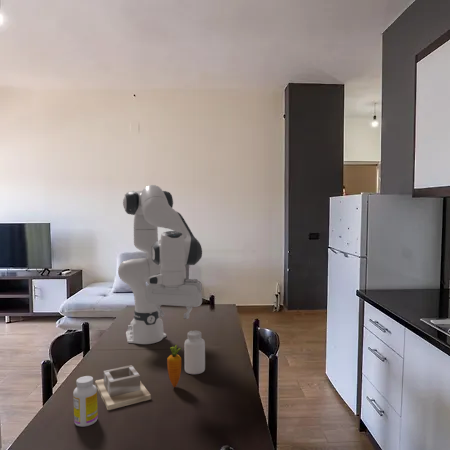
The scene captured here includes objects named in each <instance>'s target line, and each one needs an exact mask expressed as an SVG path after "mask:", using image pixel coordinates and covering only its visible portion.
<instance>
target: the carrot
mask: <svg viewBox="0 0 450 450" xmlns="http://www.w3.org/2000/svg"><path fill="white" fill-rule="evenodd" d="M177 348H178V349H177ZM169 349H170V351H171V354H170V355H169V356H168V357H167V358H166V359H167V360H166V364H167V373H168V378H169V381H170V384H171V385H172V387H173V388H176V387H177V385H178V383H179V381H180V378H181V374H182V373H181V372H182V357H181V356H180V355H179V354H178V353H179V352H180V351H181V350H182V348H181V347H178V345H177V344H175V346H171V347H169Z"/></svg>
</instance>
